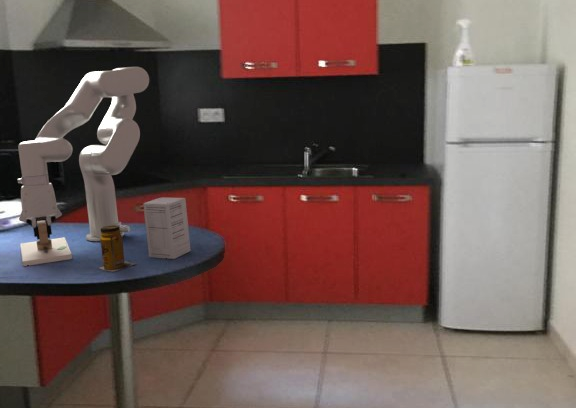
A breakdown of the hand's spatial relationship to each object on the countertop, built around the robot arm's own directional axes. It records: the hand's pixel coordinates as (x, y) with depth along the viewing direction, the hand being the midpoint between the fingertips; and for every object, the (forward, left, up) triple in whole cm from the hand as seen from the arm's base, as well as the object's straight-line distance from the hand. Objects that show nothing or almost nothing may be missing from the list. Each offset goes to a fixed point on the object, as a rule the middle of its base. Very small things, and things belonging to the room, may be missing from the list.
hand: (43, 237), depth 210 cm
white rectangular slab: (0, 0, -5) cm, 5 cm away
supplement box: (-42, +3, -5) cm, 42 cm away
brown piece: (-1, +2, -3) cm, 4 cm away
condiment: (-30, +15, -5) cm, 34 cm away
